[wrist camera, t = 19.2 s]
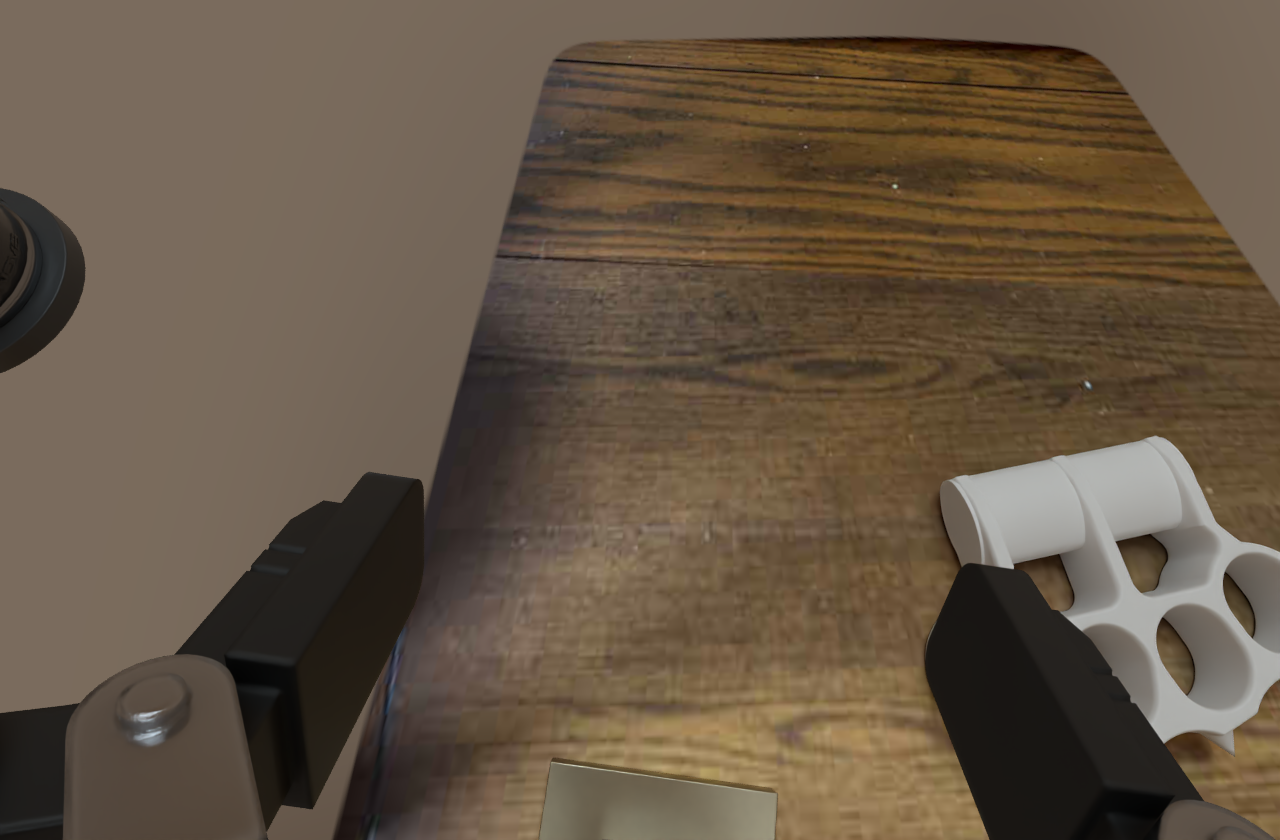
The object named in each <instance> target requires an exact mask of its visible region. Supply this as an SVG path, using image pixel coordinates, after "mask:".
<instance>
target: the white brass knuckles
mask: <svg viewBox="0 0 1280 840" xmlns="http://www.w3.org/2000/svg"><path fill="white" fill-rule="evenodd" d="M940 502H941V509H942V515H943V519H944V523H945V526H946V529H947V532H948V535H949V538H950V540H951V542H952V544H953V547H954V549H955V550H956V552H957V555H958V558H959V561H960V564H961V567H963V566H964V565H965V564H967V563H976V564H983V565H989V566H996V567H1003V568H1010V569H1014V565H1013V564H1015V563H1020V562H1024V561H1029V560H1033V559H1038V558H1042V557H1047V556H1051V555H1056V554H1059V555H1060V557H1061V560H1062V562H1063V565H1064V568H1065V570H1066V573H1067V575H1068V578H1069V581H1070V583H1071V586H1072V589H1073V591H1074V603H1073V605H1072V607H1071V608H1070V609H1069V610H1067V611H1063V612H1060V613H1061V614H1063V615H1064V616H1065V617H1066V618H1067V619H1068V620H1069V621H1071V622H1072V623H1073V624H1074V625H1075V626H1076V627H1077V628H1079V629H1080V630H1081V631H1082V632H1083V633H1084V634H1085V635H1087V636H1088V637H1089V638H1090V639H1091V640H1092V641H1093V643H1094V644H1095V646H1096V647H1097V649H1098V650H1099V652H1100V653H1101V654H1102V656H1103V657H1104V659H1105V660H1106V662H1107V663H1108V664H1109V666H1110V667H1111V669H1112V670H1113V671H1112V675H1113V676H1116V677H1118V679H1119V680H1120V682H1121V683H1122V684H1123V686H1124V687H1125V689H1126V690H1127V692H1128V693H1129V694H1130V696H1131V697H1130V701H1131V703H1136V704H1137V706H1138V707H1139V709H1140V710H1141V712H1142V713H1143V714H1144V716H1145V717H1146V719H1147V720H1148V722H1149V723H1150V724H1151V726H1152V727H1153V729H1154V730H1155V732H1156V733H1157V734H1158V736H1159V737H1160V739H1161V740H1162V742H1163V743H1166V742H1167V741H1168V740H1170V739H1171V738H1173V737H1175V736H1177V735H1180V734H1183V733H1187V732H1192V733H1199V734H1202V735H1203V736H1205V737H1206V738H1207V739H1209V740H1210V741H1212V742H1213V743H1215V744H1216V745H1218V746H1219V747H1221V748H1222V749H1224V750H1225V751H1227V752H1228V753H1230V754H1231V755H1233V756H1234V757H1235V751H1234V739H1233V729H1235V728H1236V727H1238V726H1239V725H1241V724H1242V723H1244V722H1245V721H1247V720H1248V719H1250V718H1251V717H1253V716H1254V715H1256V714H1257V713H1258V709H1259V705H1260V703H1261V700H1262V698H1263V696H1264V694H1265V693H1266V691H1267V690H1268V689H1269V688H1270V687H1271V686H1272V685H1273V684H1274V683H1275V682H1276V681H1278V680H1279V679H1280V552H1278V551H1276V550H1274V549H1271V548H1269V547H1266V546H1263V545H1259V544H1254V543H1247V542H1240V541H1239V540H1237V539H1236V538H1235V537H1233V536H1232V535H1231V534H1230V533H1228V532H1227V531H1226V530H1224V529H1223V528H1222V527H1220V526H1219V525H1218V524H1217V523H1216V521H1215V519H1214V517H1213V515H1212V513H1211V510H1210V508H1209V506H1208V504H1207V502H1206V499H1205V497H1204V495H1203V493H1202V490H1201V488H1200V486H1199V485H1198V483H1197V481H1196V478H1195V476H1194V473H1193V471H1192V469H1191V467H1190V466H1189V464H1188V462H1187V461H1186V459H1185V458H1184V457H1183V455H1182V454H1181V453H1180V452H1179V451H1178V449H1177V448H1176V447H1175V446H1174V445H1173V444H1172V443H1170V442H1169V441H1168V440H1166V439H1164V438H1161V437H1158V436H1154V437H1149V438H1146V439H1143V440H1141V441H1137V442H1132V443H1127V444H1122V445H1117V446H1113V447H1108V448H1103V449H1098V450H1093V451H1088V452H1083V453H1078V454H1073V455H1069V456H1064V455H1061V456H1056V457H1053V458H1050V459H1048V460H1044V461H1039V462H1034V463H1030V464H1025V465H1020V466H1015V467H1010V468H1005V469H1000V470H995V471H990V472H986V473H981V474H976V475H971V476H968V475H964V476H959V477H955V478H953V479H951V480H947V481H944V482H943V483H942V485H941V488H940ZM1146 534H1151V535H1152V536H1153V537H1154V538H1156V539H1157V540H1158V541H1159V542H1161V543H1162V544H1163V545H1164V547H1165V548H1166V550H1167V553H1168V561H1167V563H1166V565H1165V566H1164V568H1163V570H1162V572H1161V575H1160V579H1159V584H1158V587H1157V588H1156V589H1155V590H1153V591H1149V592H1145V593H1140V592H1139V591H1138V590H1137V589H1136V588H1135V586H1134V585H1133V583H1132V580H1131V578H1130V575H1129V573H1128V571H1127V568H1126V566H1125V563H1124V561H1123V558H1122V556H1121V553H1120V551H1119V549H1118V546H1117V544H1116V542H1115V541H1119V540H1124V539H1128V538H1133V537H1137V536H1142V535H1146ZM1225 572H1226V573H1227V574H1228V575H1230V577H1231V578H1232V579H1233V580H1234V581H1235V583H1236V584H1237V585H1238V586H1239V588H1240V589H1241V590H1242V592H1243V593H1244V594H1245V596H1246V597H1247V598H1248V600H1249V602H1250V604H1251V606H1252V608H1253V611H1254V615H1255V622H1256V627H1255V633H1254V636H1253V639H1252V638H1251V637H1250V636H1249V635H1248V633H1247V632H1246V631H1245V629H1244V628H1243V627H1242V626H1241V624H1240V623H1239V622H1238V620H1237V619H1236V618H1235V616H1234V615H1233V613H1232V612H1231V610H1230V609H1229V607H1228V605H1227V602H1226V599H1225V596H1224V592H1223V577H1224V573H1225ZM1162 617H1163V618H1165V619H1166V620H1167V621H1168V622H1169V623H1170V624H1171V625H1172V626H1173V628H1174V629H1175V630H1176V632H1177V633H1178V634H1179V636H1180V637H1181V638H1182V640H1183V641H1184V643H1185V644H1186V645H1187V647H1188V649H1189V651H1190V653H1191V655H1192V658H1193V661H1194V666H1195V680H1194V684H1193V687H1192V689H1191V691H1190V693H1189V694H1188V695H1187V696H1186V695H1185V694H1184V693H1183V692H1182V691H1181V689H1180V688H1179V687H1178V685H1177V684H1176V683H1175V681H1174V680H1173V678H1172V677H1171V676H1170V674H1169V673H1168V671H1167V670H1166V668H1165V667H1164V665H1163V663H1162V661H1161V659H1160V657H1159V654H1158V650H1157V645H1156V632H1157V627H1158V624H1159V622H1160V620H1161V619H1162ZM935 624H936V622H935ZM935 624H934V626H935ZM934 626H933V627H932V629H931V632H930V634H929V637H928V640H929V638H930V635H931V633H932V631H933V628H934ZM928 640H927V644H928ZM926 649H927V645H926ZM925 659H926V653H925Z"/></svg>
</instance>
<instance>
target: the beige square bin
mask: <svg viewBox="0 0 1280 840" xmlns="http://www.w3.org/2000/svg"><path fill="white" fill-rule="evenodd" d="M777 801H778V793H777V792H775V791H774V790H773V789H772V788H766V787H759V786H752V785H745V784H738V783H731V782H724V781H717V780H709V779H702V778H695V777H688V776H681V775H674V774H667V773H660V772H653V771H645V770H638V769H631V768H624V767H617V766H610V765H603V764H596V763H589V762H581V761H574V760H567V759H560V758H553V759H552V761H551V764H550V770H549V776H548V783H547V789H546V795H545V802H544V808H543V814H542V821H541V827H540V833H539V840H602V839H608V840H775V831H776V816H777Z"/></svg>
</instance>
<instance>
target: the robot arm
mask: <svg viewBox="0 0 1280 840" xmlns="http://www.w3.org/2000/svg"><path fill="white" fill-rule="evenodd" d="M0 200H1V201H3V200H2V199H0ZM3 202H4V201H3ZM5 203H6V202H5ZM41 267H42V251H41V246H40V243H39V240H38V237H37V235H36V234H35V232H34V230H33V229H32V228H31V226H30V225H29V224H28V223H27V222H26V221H25V220H24V219H22V218H21V217H20V216H18V215H17V214H16V213H14V212H13V211H12V210H10V209H9V208H7V207H6V206H4V205H3V204H1V203H0V328H1V327H2V326H3V325H5V324H6V323H7V322H8V321H10V320H11V319H12V318H13V317H14V316H15V315H16V314H17V313H18V312H19V311H20V310H21V309H22V307H23V306H24V305H25V304H26V302H27V301H28V299H29V298H30V296H31V295H32V293H33V291H34V289H35V287H36V285H37V282H38V280H39V276H40V273H41ZM423 569H424V490H423V485H422V482H421V481H420V480H419V479H413V478H405V477H399V476H392V475H386V474H379V473H372V472H368V473H366V474H364V476H362V478H361V479H360V480H359V481H358V483H357V484H356V485H355V487H354V488H353V489H352V490H351V492H350V493H349V494H348V496H347V497H346V498H345V499H344V501H343V502H342V503H337V502H330V501H322V502H320V503H319V504H317V505H315V506H313V507H312V508H310V509H308V510H306V511H305V512H303V513H301V514H300V515H298V516H296V517H294V518H293V519H291V520H290V521H289V522H288V524H287V525H286V526H285V527H284V528H283V529H282V530H281V532H280V533H279V534H278V535H277V536H276V537H275V539H274V540H273V541H272V542H271V543H270V544H269V549H268V550H264V551H263V552H262V554H261V555H260V556H259V557H258V558H257V559H256V561H255V562H254V563H253V564H252V566H251V570H250V571H246V572H245V574H244V575H243V576H242V577H241V578H240V579H239V580H238V582H237V583H236V584H235V585H234V586H233V587H232V588H231V590H230V591H229V592H228V593H227V594H226V596H225V597H224V598H223V599H222V600H221V602H219V604H218V605H217V606H216V607H215V608H214V609H213V611H212V612H211V613H210V614H209V615H208V616H207V618H206V619H205V620H204V621H203V622H202V623H201V625H200V626H199V627H198V628H197V629H196V631H194V633H193V634H192V635H191V636H190V637H189V638H188V640H187V641H186V642H185V643H184V644H183V645H182V647H181V648H180V649H179V650H178V651H177V652H176V653H175V655H170V656H163V657H159V658H155V659H150V660H148V661H145V662H142V663H138V664H136V665H134V666H131V667H129V668H127V669H124V670H122V671H121V672H119V673H117V674H115V675H113V676H112V677H110V678H108V679H107V680H106V681H104V682H103V683H101V684H100V685H98V686H97V687H96V688H95V689H94V690H93V691H91V692H90V693H89V694H88V695H87V696H86V697H85V698H84V699H83V701H82V702H81V703H78V704H72V705H65V706H57V707H48V708H40V709H32V710H23V711H15V712H6V713H0V840H268V838H267V833H266V832H267V830H268V829H269V827H270V825H271V823H272V821H273V819H274V817H275V815H276V814H277V812H278V810H279V808H280V806H281V805H286V806H293V807H300V808H307V809H313V807H314V805H315V803H316V801H317V799H318V797H319V795H320V793H321V791H322V789H323V787H324V785H325V783H326V781H327V779H328V777H329V775H330V773H331V771H332V769H333V767H334V765H335V763H336V761H337V759H338V757H339V755H340V753H341V751H342V749H343V747H344V745H345V743H346V741H347V739H348V737H349V735H350V733H351V731H352V729H353V727H354V725H355V723H356V721H357V719H358V717H359V715H360V713H361V711H362V709H363V707H364V705H365V703H366V701H367V699H368V697H369V695H370V693H371V691H372V689H373V687H374V685H375V683H376V681H377V679H378V677H379V675H380V673H381V671H382V669H383V667H384V665H385V663H386V661H387V659H388V657H389V655H390V653H391V651H392V649H393V647H394V645H395V643H396V641H397V639H398V637H399V635H400V633H401V631H402V629H403V627H404V625H405V623H406V621H407V619H408V617H409V615H410V613H411V611H412V609H413V607H414V605H415V602H416V600H417V597H418V594H419V590H420V586H421V582H422V577H423ZM925 664H926V674H927V679H928V682H929V685H930V688H931V690H932V693H933V696H934V698H935V701H936V703H937V706H938V708H939V711H940V713H941V716H942V719H943V721H944V724H945V726H946V729H947V731H948V734H949V737H950V739H951V742H952V744H953V747H954V749H955V752H956V755H957V757H958V760H959V762H960V765H961V767H962V770H963V773H964V775H965V778H966V780H967V783H968V785H969V788H970V791H971V793H972V796H973V798H974V801H975V803H976V806H977V808H978V811H979V814H980V816H981V819H982V821H983V824H984V826H985V829H986V832H987V834H988V837H989V839H990V840H1275V839H1274V838H1273V837H1272V836H1270V835H1269V834H1268V833H1266V832H1265V831H1263V830H1262V829H1261V828H1259V827H1258V826H1256V825H1255V824H1253V823H1251V822H1250V821H1248V820H1247V819H1245V818H1243V817H1241V816H1239V815H1238V814H1236V813H1234V812H1232V811H1230V810H1227V809H1225V808H1223V807H1220V806H1218V805H1215V804H1211V803H1208V802H1204V800H1203V799H1202V797H1201V796H1200V795H1199V793H1198V792H1197V790H1196V789H1195V787H1194V786H1193V785H1192V783H1191V782H1190V780H1189V779H1188V777H1187V776H1186V775H1185V773H1184V772H1183V770H1182V769H1181V767H1180V766H1179V765H1178V763H1177V762H1176V760H1175V759H1174V757H1173V756H1172V754H1171V753H1170V752H1169V750H1168V749H1167V747H1166V746H1165V744H1164V743H1163V742H1162V740H1161V739H1160V737H1159V736H1158V734H1157V733H1156V732H1155V730H1154V729H1153V727H1152V726H1151V724H1150V723H1149V722H1148V720H1147V719H1146V717H1145V716H1144V714H1143V713H1142V712H1141V710H1140V709H1139V707H1138V706H1137V704H1136V703H1131V701H1130V697H1131V696H1130V694H1129V693H1128V692H1127V690H1126V689H1125V687H1124V686H1123V684H1122V683H1121V682H1120V680H1119V679H1118V677H1116V676H1113V675H1112V671H1113V670H1112V669H1111V667H1110V666H1109V664H1108V663H1107V662H1106V660H1105V659H1104V657H1103V656H1102V654H1101V653H1100V652H1099V650H1098V649H1097V647H1096V646H1095V644H1094V643H1093V641H1092V640H1091V639H1090V638H1089V637H1088V636H1087V635H1085V634H1084V633H1083V632H1082V631H1081V630H1080V629H1079V628H1077V627H1076V626H1075V625H1074V624H1073V623H1072V622H1071V621H1069V620H1068V619H1067V618H1066V617H1065V616H1064V615H1063V614H1061V613H1060V612H1059V611H1057V610H1052V609H1051V608H1050V606H1049V605H1048V603H1047V602H1046V600H1045V599H1044V597H1043V596H1042V594H1041V593H1040V591H1039V590H1038V588H1037V587H1036V585H1035V584H1034V582H1033V581H1032V579H1031V578H1030V577H1029V575H1028V574H1027V573H1025V572H1024V571H1022V570H1016V569H1010V568H1003V567H996V566H989V565H983V564H976V563H967V564H965V565H964V566H963V567H962V568H961V569H960V570H959V572H958V574H957V576H956V578H955V580H954V583H953V585H952V587H951V590H950V592H949V594H948V596H947V599H946V601H945V603H944V605H943V608H942V610H941V612H940V615H939V617H938V619H937V621H936V624H935V626H934V628H933V631H932V633H931V635H930V638H929V640H928V644H927V649H926V659H925Z"/></svg>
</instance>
